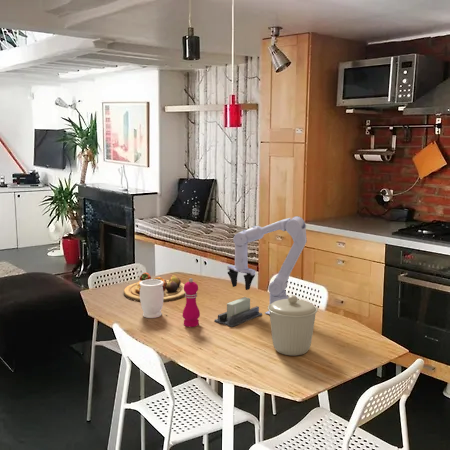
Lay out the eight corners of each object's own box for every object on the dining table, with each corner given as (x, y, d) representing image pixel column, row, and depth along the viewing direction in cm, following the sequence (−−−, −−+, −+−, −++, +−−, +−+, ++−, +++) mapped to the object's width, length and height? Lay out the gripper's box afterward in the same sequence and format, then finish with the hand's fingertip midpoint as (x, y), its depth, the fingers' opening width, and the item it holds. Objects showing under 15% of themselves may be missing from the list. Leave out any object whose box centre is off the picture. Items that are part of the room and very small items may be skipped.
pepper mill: (197, 328, 230) (197, 281, 226) (180, 326, 231) (179, 280, 228) (201, 322, 237) (201, 276, 233) (185, 320, 238) (184, 275, 235)
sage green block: (244, 312, 247) (244, 296, 246) (250, 313, 245) (251, 298, 243) (226, 319, 238) (226, 303, 237) (233, 321, 236) (233, 305, 234)
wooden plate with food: (120, 286, 289) (119, 271, 287) (180, 281, 298) (180, 266, 297) (128, 307, 259) (127, 290, 257) (195, 300, 268) (195, 283, 267)
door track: (244, 309, 252) (244, 302, 252) (262, 314, 246) (262, 307, 245) (214, 321, 237) (214, 314, 237) (232, 327, 231) (232, 319, 230)
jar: (162, 319, 240) (161, 285, 237) (138, 319, 240) (137, 285, 237) (165, 311, 250) (164, 278, 248) (142, 311, 251) (141, 278, 248)
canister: (284, 337, 220) (285, 285, 216) (325, 349, 209) (327, 294, 205) (257, 351, 206) (258, 296, 202) (299, 364, 195) (301, 306, 191)
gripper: (223, 257, 251) (223, 286, 253) (248, 262, 242) (248, 293, 244) (233, 254, 256) (233, 283, 259) (258, 259, 247) (258, 289, 249)
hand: (241, 287), depth 252 cm, fingers open, 7 cm apart
